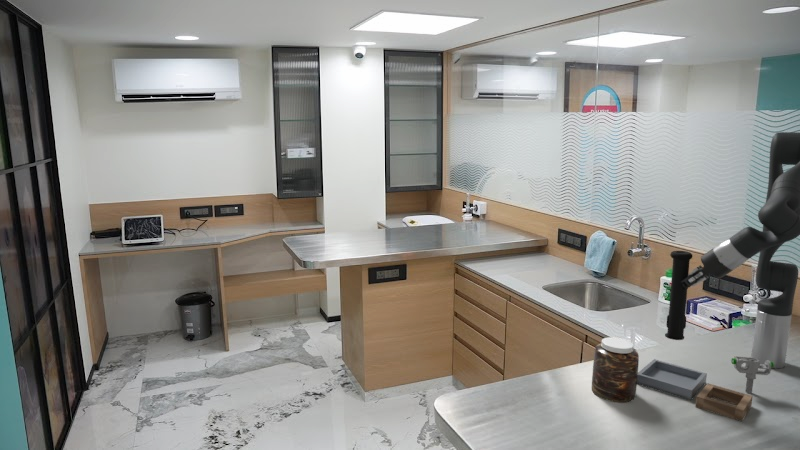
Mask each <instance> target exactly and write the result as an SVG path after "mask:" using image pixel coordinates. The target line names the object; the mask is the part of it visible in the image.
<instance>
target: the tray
mask: <svg viewBox="0 0 800 450" xmlns="http://www.w3.org/2000/svg"><path fill="white" fill-rule="evenodd" d="M707 375H708V373H706V372H703V371H700V370H699V371H698V370H695V369H692V368H688V367H685V366H681V365H676V364H674V363H669V362H667V361H662V360H659V359H656V358H654V359H652V360H651V361H650V362H649V363H648V364H647V365H645V366H644V367H643V368H642V369H640V370H639V371H638V376H637V385H640V386H643V387H646V388H648V389H649V388H650V389H653V390H656V391H660V392H662V393H665V394H668V395H671V396H674V397H678V398H681V399H685V400H688V401H692V400H693V399H694V398H695V396H697V395H698V394H699V393H700V392H699V391H701V390H702V389H703V388H704V387H705V385H706V384H707ZM704 384H705V385H704ZM692 398H693V399H692Z"/></svg>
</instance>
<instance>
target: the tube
mask: <svg viewBox="0 0 800 450" xmlns="http://www.w3.org/2000/svg"><path fill="white" fill-rule="evenodd" d="M669 256H670V257H671V258H672V270H671V280H670V281H671V282H670V283H671V284H670V289H671V292H670V293H669V294H670V295H669V297H670V298H669V307H668V308H669V309H668V314H667V316H666V328H667V332H666V333H664V336H665V338H667V339H670V340H673V341H674V340H675V341H683V340H684V339H685V336H684V333H685V329H686V327H687V325H686V324H687V316H686V308H687V295H688V294H687V293H688V289H684V287H683V283H685V282H683V283H681V281H682V280H684V279H685V278H687V277H688V274H690V272H689V271H690V260H691V259H693V254H692V253H691V252H690V251H686V250H673V251H671V253H670V255H669Z"/></svg>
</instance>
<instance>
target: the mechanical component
mask: <svg viewBox="0 0 800 450" xmlns="http://www.w3.org/2000/svg"><path fill="white" fill-rule="evenodd" d="M730 361H731V364H732V365H733V367H734V369H735V370H736V371H738V373H741V374H745V375H744V377H745V378H746V384H745V385H746V386H745V392H746V394H748V395H752V392H753V389H754V387H753V386H754V380H756V379H757V375H760V376H761V375H762V376H768V375H770V374H771V371H772V368H771V367H773V366H774V364H773V362H770V361H769V360H766V361H765V363H764V364H760V363H759V360H758V359H755V358H751V356H750V357H747V356H734V357H733V358H731V360H730Z"/></svg>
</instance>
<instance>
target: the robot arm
mask: <svg viewBox="0 0 800 450" xmlns="http://www.w3.org/2000/svg"><path fill="white" fill-rule="evenodd" d="M783 165H784V166H785V165H788V166H790V165H791V166H792V167H791V168H788V169H787V170H785V171H784V169H783V168H784V167H783ZM768 168H769V169H768V182H767V183H768V185H767V191H766V192H767V193H766V198H765V203H764V204H763V206H761V207H760V209H759V210H758V213H757V217H758V220H759V221H758V222H760V223H761V224H762V230H759V229H756V228H755V227H752V226H747V227H744V228H742V229H740V231H738V232H736V233H735V234H733V235H732V236H730V237H729V238H727V239H726V240H724V241H723V240H722V242H720V243H718V244H717V245H716V246H714V247H712V249H710V250H708V251H707V252H705V253H704V254H702V255H701V256H700V262H701V264H702V265H698V266H697V267H696V268H693V270H692V271H691V272H689V273H688V277H687V278H685V279H684V280H682V281H681V283H683V282H685V283H683V287H684V289H687V290H688V289H689V288H691V287H695V286H697V285H698V284H700V283H701V282H704V281H706V280H708V279H709V278H710V277H711V275H712V276H713V277H715V278H717V279H722V278H723V277H725V276H727V275H729V273H731V272H732V271H734V270H736V269H737V268H739V267H740V266H742V265H743V264H744V263H746V262H747V261H748V260H750V259H751V258H752V257H755V255H757V254H759V256H758V257H759V258H758V263H757V267H756V273H755V284H756V287H758V288H759V289H760V290H767V291H773V292H779V293H780V292H781V294H779V295H778V296H774V297H768V298H764V299H760V300H759V301H758V303H757V310H756V316H755V323H754V325H755V326H754V332H753V340H752V347H751V356H750V358H755V359H758V360H759V363H760V364H764V363H765V361H766V360H769V361H770V362H773V364H774V366H773V367H771V369H773V368H774V369H783V368H785V366H786V361H787V360H786V358H787V351H788V345H789V338H790V336H789V335H790V330H791V323H792V315H793V309H794V299H795V294H796V289H797V286H798V285H797V284H798V279H799V269H798V268H799V267H798V265H796V264H794V263H787V262H779V261H772V259H773V256H774V255H775V253H776V252H777V251H778V249H779V248H781V246H783V245H784V244H785V243H787V242H789V241H792V240H794V239H796V238H798V237H799V236H800V132H795V131H793V132H792V131H791V132H790V131H789V132H788V131H787V132H786V131H785V132H784V131H783V132H782V131H780V132H776V133H774V135H773V137H772V138H771V143H770V147H769V166H768ZM710 274H711V275H710ZM669 292H670V293H671V288H670V289H669Z"/></svg>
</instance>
